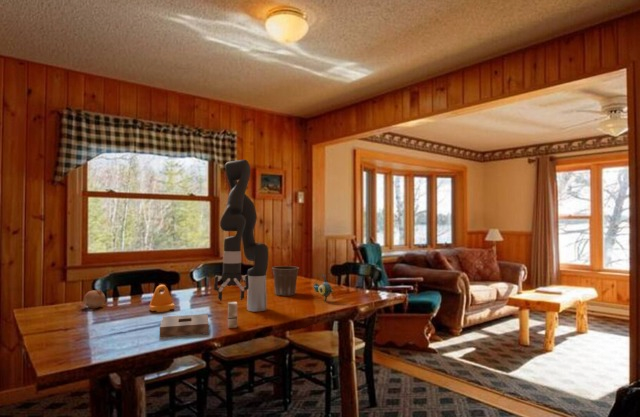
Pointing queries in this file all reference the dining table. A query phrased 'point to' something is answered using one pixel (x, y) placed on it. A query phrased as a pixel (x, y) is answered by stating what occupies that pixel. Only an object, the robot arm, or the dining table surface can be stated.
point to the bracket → (161, 300)
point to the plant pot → (285, 280)
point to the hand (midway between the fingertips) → (231, 300)
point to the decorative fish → (323, 288)
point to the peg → (232, 314)
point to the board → (184, 325)
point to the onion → (94, 299)
